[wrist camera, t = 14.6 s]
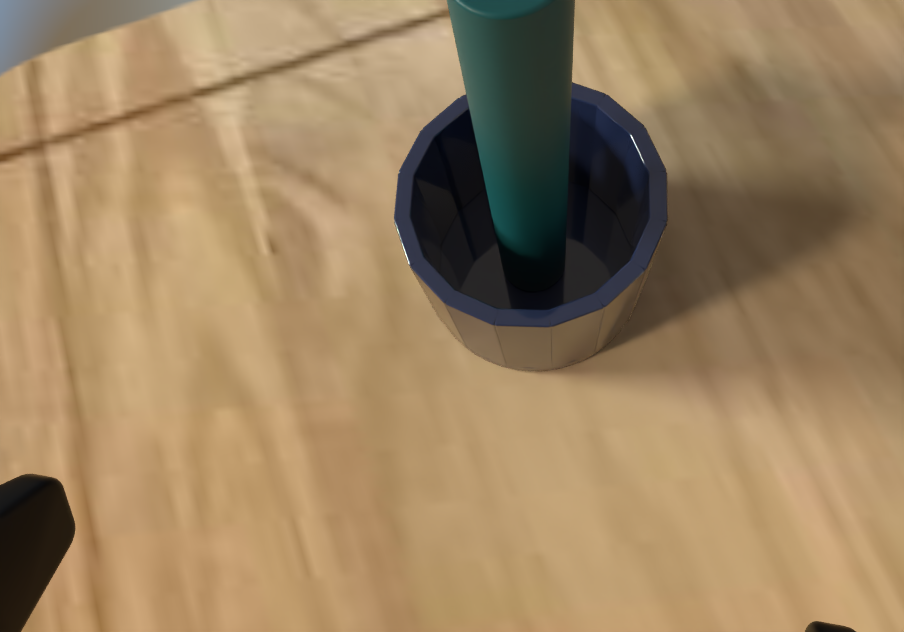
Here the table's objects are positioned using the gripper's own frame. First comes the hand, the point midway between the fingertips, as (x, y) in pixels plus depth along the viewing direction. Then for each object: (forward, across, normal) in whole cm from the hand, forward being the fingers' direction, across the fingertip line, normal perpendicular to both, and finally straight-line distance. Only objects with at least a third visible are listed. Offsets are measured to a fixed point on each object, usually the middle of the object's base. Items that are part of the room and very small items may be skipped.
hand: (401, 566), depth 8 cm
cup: (+16, 0, +4) cm, 16 cm away
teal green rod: (+15, 0, +3) cm, 16 cm away
